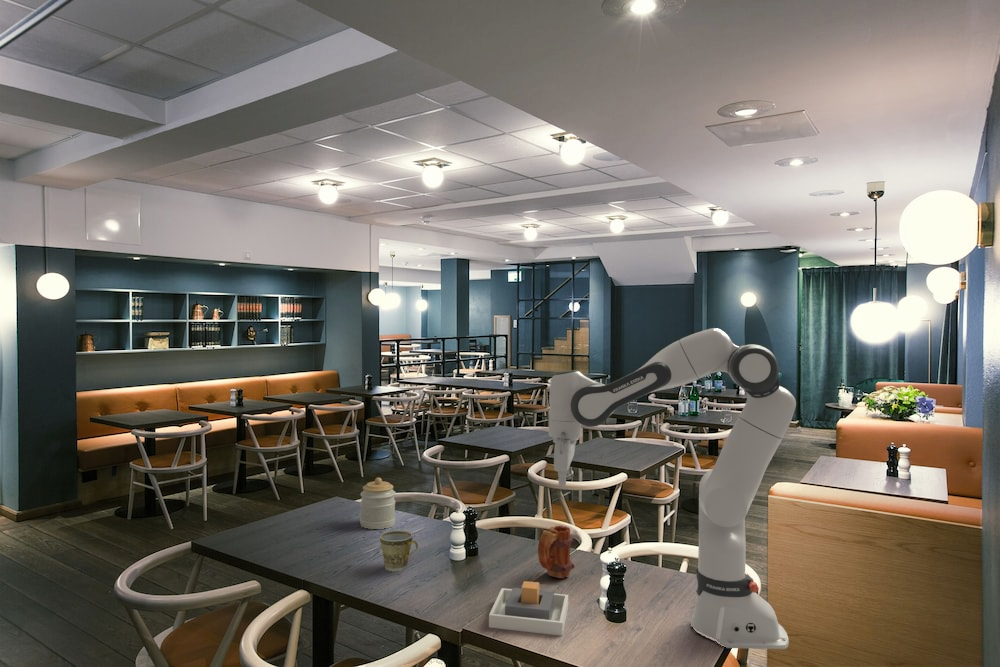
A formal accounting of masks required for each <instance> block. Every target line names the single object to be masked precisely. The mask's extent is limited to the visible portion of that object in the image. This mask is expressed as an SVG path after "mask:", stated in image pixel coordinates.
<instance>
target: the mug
mask: <svg viewBox="0 0 1000 667" xmlns="http://www.w3.org/2000/svg"><path fill="white" fill-rule="evenodd" d="M548 530H549V531H547V530H544V531H542V533H541V536H540V537H539V541H538V547H537V554H538V556H537V557H538V560H539V563H540V565H541V567H542V568H543V569H546V572H547V575H548V576H550V577H552V578H555V577H556V579H565V578H564V577H567V576H568V577H569V576H570V571H572V570H573V569H575V564H574V563H573V562H572V561H571V546H572V545H573V544H574V543H575V540H574V539H573V537H572V536H571V529H570V527H568V526H565V525H555V526H551V527H550V528H549V529H548ZM568 577H567V578H568Z"/></svg>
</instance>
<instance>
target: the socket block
mask: <svg viewBox="0 0 1000 667" xmlns="http://www.w3.org/2000/svg"><path fill="white" fill-rule="evenodd" d="M511 589H512V591H511V593H510V596H509V598H508V600H507V603H506V605H505V615H508V616H517V617H527V618H536V619H545V620H551V619H552V615H553V611H554V594H555V591H549V590H540V589H539V604H529V603H521V592H522V587H521V588H520V587H519V588H518V587H512V588H511Z"/></svg>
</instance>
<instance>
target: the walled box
mask: <svg viewBox="0 0 1000 667" xmlns="http://www.w3.org/2000/svg"><path fill="white" fill-rule="evenodd" d="M512 589H513V588H505V587H504V588H503V587H502V588H500V591H499V593H498V596H497V597H496V600H495V601H494V604H493V606H492V607H491V610H490V612H489V614H488V628H493V629H500V630H501V629H502V630H509V631H516V632H517V631H519V632H527V633H536V634H545V635H552V636H553V635H554V636H561V637H562V636H563V635H564V631H565V630H564V629H565V625H566V621H567V619H566V618H567V614H568V609H569V594H564V593H563V594H562V593H554V611H553V615H552V619H551V620H545V619H536V618H527V617H517V616H508V615H505V605H506V603H507V600H508V598H509V596H510V593H511V591H512Z"/></svg>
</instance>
